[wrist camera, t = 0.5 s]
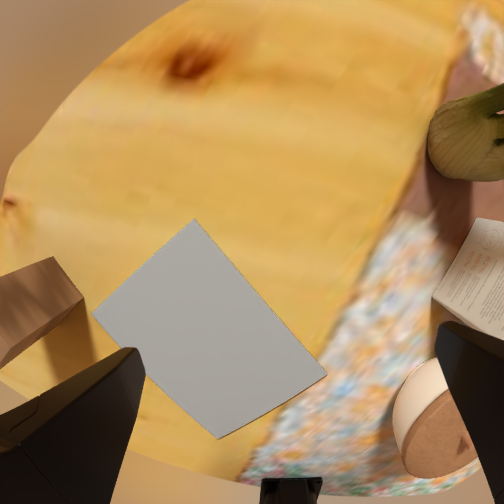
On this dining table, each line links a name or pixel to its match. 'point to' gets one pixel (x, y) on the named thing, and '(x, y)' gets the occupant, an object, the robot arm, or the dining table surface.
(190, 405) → the mat
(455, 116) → the fennel bulb
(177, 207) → the dining table surface
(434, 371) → the lidded jar
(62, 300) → the walnut block
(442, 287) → the small box
